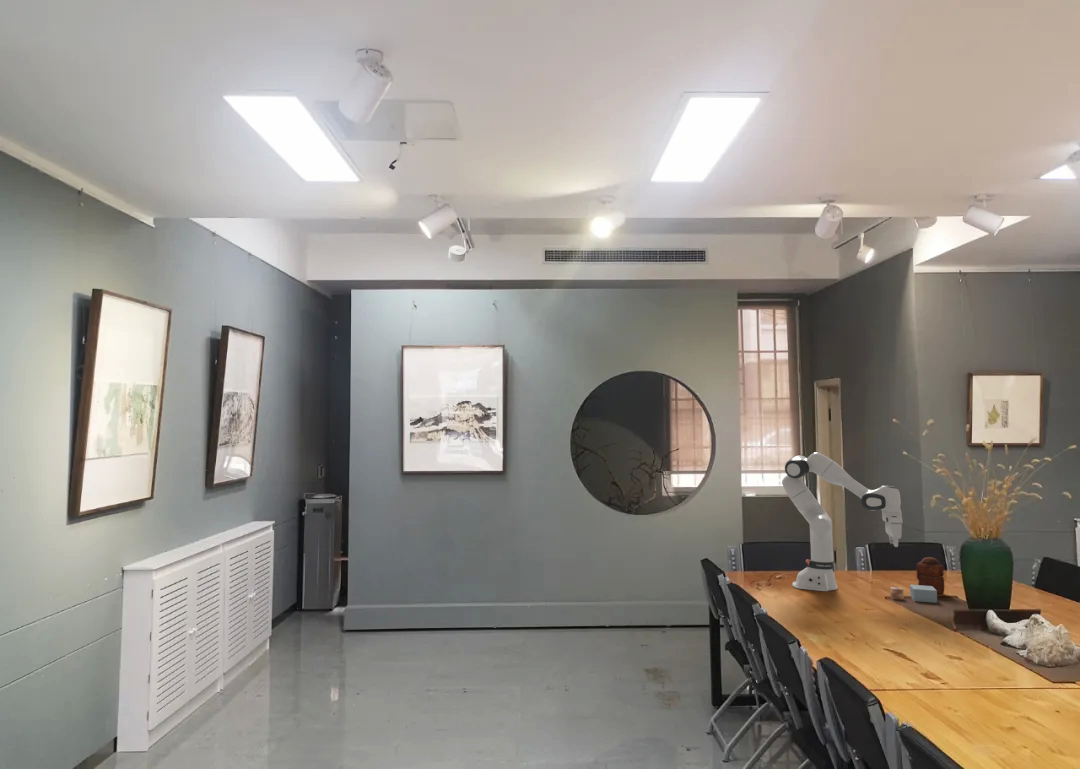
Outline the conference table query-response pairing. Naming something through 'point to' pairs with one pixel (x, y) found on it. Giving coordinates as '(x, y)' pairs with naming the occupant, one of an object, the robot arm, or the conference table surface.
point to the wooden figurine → (931, 574)
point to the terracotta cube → (896, 593)
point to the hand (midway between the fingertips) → (893, 545)
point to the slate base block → (923, 593)
